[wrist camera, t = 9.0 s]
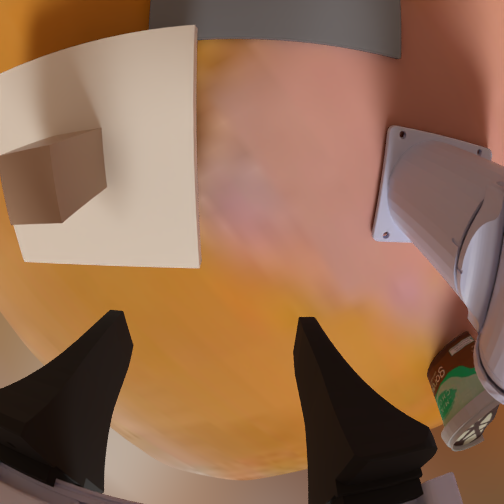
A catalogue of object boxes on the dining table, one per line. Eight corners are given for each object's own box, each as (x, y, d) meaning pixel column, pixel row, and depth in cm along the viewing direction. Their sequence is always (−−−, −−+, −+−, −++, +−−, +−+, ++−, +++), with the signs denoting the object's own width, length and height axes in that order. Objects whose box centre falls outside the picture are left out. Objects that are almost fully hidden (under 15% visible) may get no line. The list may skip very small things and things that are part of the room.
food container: (420, 344, 26) (458, 423, 17) (468, 321, 25) (513, 391, 16) (415, 401, 32) (438, 464, 23) (455, 383, 31) (483, 442, 22)
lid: (197, 28, 11) (170, -5, 6) (201, 260, 17) (185, 324, 12) (3, 75, 11) (-59, 84, 6) (30, 255, 16) (-13, 301, 12)
